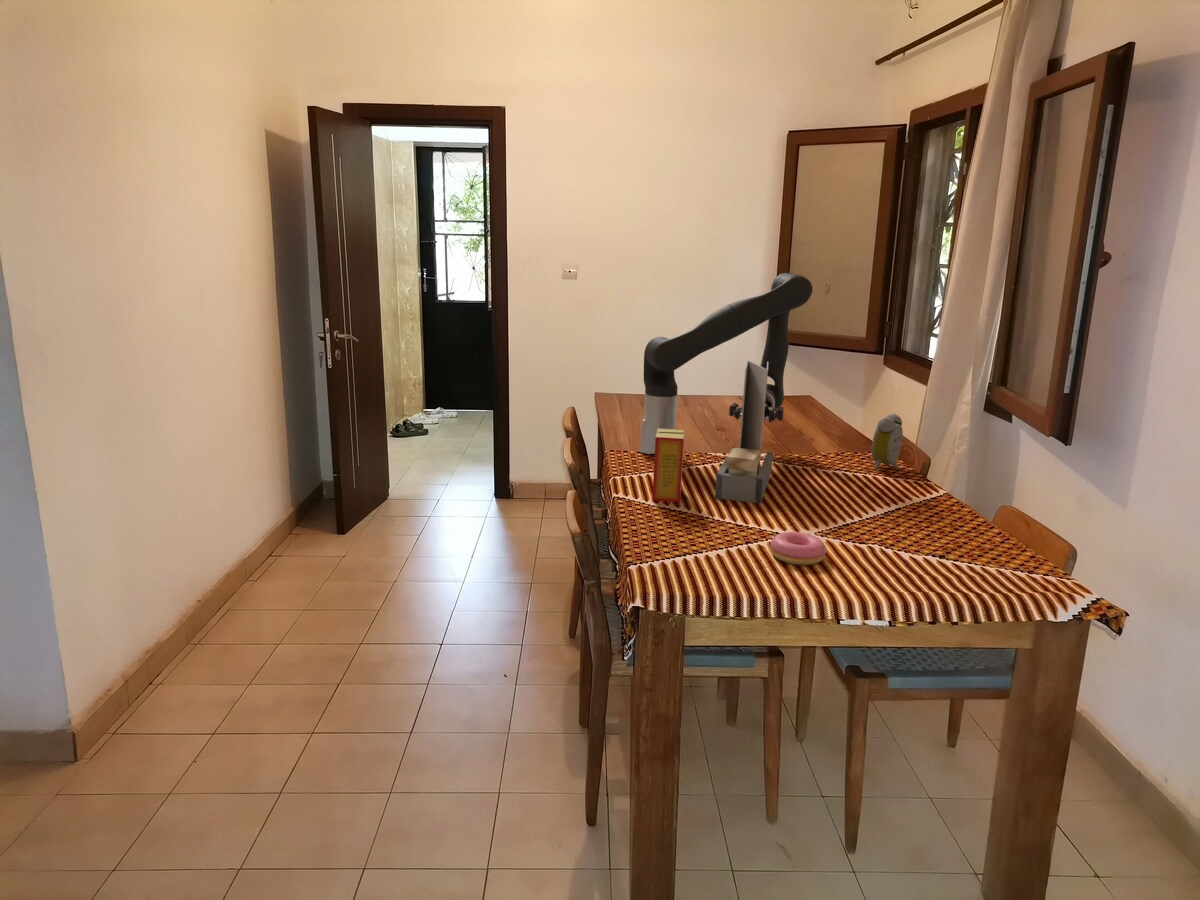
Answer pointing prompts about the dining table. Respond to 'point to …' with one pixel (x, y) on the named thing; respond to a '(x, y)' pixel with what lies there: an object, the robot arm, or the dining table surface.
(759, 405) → the brochure
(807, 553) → the doughnut
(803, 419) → the dining table surface
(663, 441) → the baking soda box
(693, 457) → the dining table surface
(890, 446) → the alarm clock
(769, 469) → the rack
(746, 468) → the offcut stack
